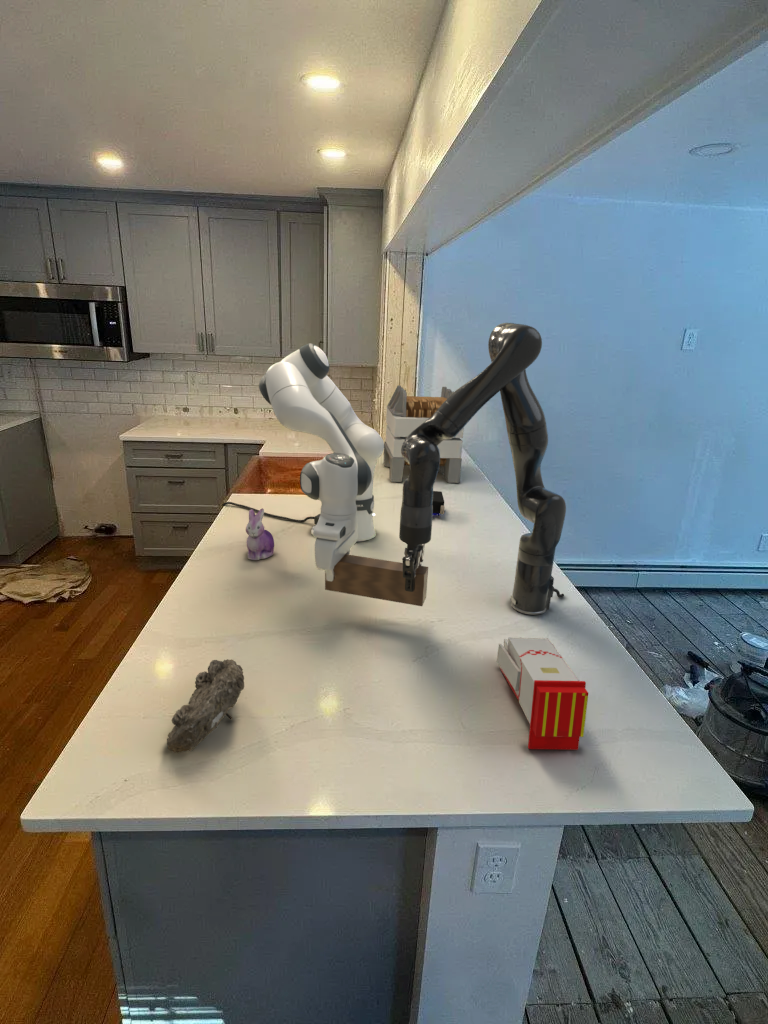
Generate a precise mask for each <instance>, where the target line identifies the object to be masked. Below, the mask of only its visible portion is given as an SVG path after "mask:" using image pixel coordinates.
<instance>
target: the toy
mask: <svg viewBox="0 0 768 1024" xmlns="http://www.w3.org/2000/svg"><path fill="white" fill-rule="evenodd" d="M496 664H497V665H498V666H499V669H500V672H501V673H502V675H503V677H504V678H505V680H506V682H507V683H508V685H509V687H510V689H511V690H512V692H513V694H514V696H515V698H516V700H517V701H518V704H519V705H520V707H521V709H522V711H523V713H524V715H525V718H526V719H527V722H528V723H529V731H528V732H529V734H528V742H527V743H528V744H527V748H528V750H568V751H569V750H571V751H572V750H573V751H574V750H576V751H578V750H579V745H580V738H584V735H585V727H586V719H587V709H588V703H589V702H588V701H589V692H588V690H587V689H586V686H587V682H586V681H585V680H580V679H579V677H578V676H577V675H576V673H575V672H574V670H572V668H571V667H570V666H569V664H568V663H567V662H566V660H565V659H564V657H563V656H562V655H561V653H560V651H558V649H557V648H556V646H555V644H554V643H552V641H551V640H550V638H549V637H508V638H504V639H503V644H502V643H498V648H497V654H496Z"/></svg>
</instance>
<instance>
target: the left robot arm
mask: <svg viewBox="0 0 768 1024" xmlns="http://www.w3.org/2000/svg"><path fill="white" fill-rule="evenodd" d="M330 366H331V365H330V362H329V360H328V356H327V355H326V353H325V352H324V350H322V349H321V347H319V346H318V345H316V343H315V344H314V343H310V342H309V343H306V344H304V345H302V346H300V347H299V348H298V349H296V350H295V351H293V352H291V353H289V354H288V355H286V356H285V357H284V358H282V359H281V360H280V361H278V362H275V363H274V364H271V365H270V367H268V368H267V371H266V373H264V374H263V375H262V377H261V378H260V379H259V384H258V389H259V392H260V394H261V396H262V397H263V399H264V400H265V401H266V402H267V403H268V404H269V405H270V406H271V408H272V410H273V413H274V415H275V417H276V419H277V420H278V422H279V423H280V424H281V425H282V426H283V427H285V428H287V429H288V430H291V431H294V432H299V433H304V434H307V435H312V436H315V437H317V438H320V439H322V440H323V441H325V442H326V443H327V445H328V446H329V448H330V449H331V451H332V453H328V454H326V455H325V456H324V457H323V458H322V459H318V460H313V461H309V462H307V463H305V465H303V467H302V468H301V471H300V473H299V486H300V490H301V492H302V493H303V494H304V495H305V496H307V498H309V499H311V500H314V501H320V503H321V504H320V513H319V514H317V515H315V516H307V517H305V518H304V519H294V518H292V517H291V518H290V517H286V516H281V515H277V514H271V513H268V512H265V511H264V515H263V516H267V517H271V518H276V519H280V520H285V521H290V522H294V523H304V522H307V521H308V520H313V523H314V525H313V526H312V528H311V530H310V533H311V536H312V537H313V538H315V541H314V562H315V563H314V564H315V567H316V568H317V570H320V571H324V574H325V573H326V580H327V581H333V580H334V578H335V573H334V571H333V569H334V566H335V565H336V564H337V563H338V562H339V561H340V560H341V558H342V557H343V556H344V555H345V554H348V555H351V554H350V553H351V549H352V548H353V546H354V545H355V544H356V543H357V542H365V541H368V540H372V539H373V538H375V537H376V535H377V532H376V528H375V523H374V517H375V516H376V513H373V512H374V509H375V496H374V477H375V470H376V466H377V463H378V460H379V458H380V457H381V456H382V455H383V454H384V442H385V441H384V440H383V437H382V436H381V435H380V433H379V432H378V431H377V430H376V429H374V428H373V427H370V426H369V425H367V424H366V423H364V422H363V421H362V420H361V419H360V418H359V417H358V415H357V414H356V412H355V411H354V409H353V407H352V404H351V402H350V401H349V400H348V399H347V397H346V396H345V394H343V393H342V391H341V390H340V389H339V387H338V386H337V385H336V384H335V382H334V381H333V380H332V379H331V378H330V377H329V375H328V373H329V372H330ZM226 505H232V506H236V507H239V508H244V509H247V510H249V511H250V510H251V509H252V510H253V511H254V512H256V513H258V512H259V510H260V509H258V508H257V509H256V508H254V507H250V506H248V505H244V504H240V503H235V502H232V501H226V502H223V504H222V506H223V507H224V506H226Z"/></svg>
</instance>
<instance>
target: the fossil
mask: <svg viewBox="0 0 768 1024" xmlns="http://www.w3.org/2000/svg"><path fill="white" fill-rule="evenodd" d="M243 670H244V669H243V667H242V665H240V664H237V662H236V661H235V660H234V659H232V658H231V659H227V658H226V659H224V660H223V661H222V660H217V659H212V660H211V661H210V663H209V665H208V666H207V671H201V672H199V673H198V674H197V675H196V676H195V680H194V684H195V685H194V687H195V689H194V690H193V693H192V694H191V697H190V698H189V700H188V704H184V705H182V706H181V707H180V709H177V710H176V711H175V713H174V715H173V716H172V718H171V723H172V724H173V727H172V730H171V731H170V732H168V734H167V738H166V741H167V742H166V745H167V749H168V750H169V751H173V752H174V753H176V754H178V753H182V752H188V751H189V752H192V751H193V750H195V748H196V747H197V746H199V744H200V743H201V742H203V741H204V740H205V739H206V738H207V737H208V736H209V735H210V734H211V733H212V732H214V730H215V729H217V727H218V726H219V724H220V722H221V721H222V720H223V719H224V718H225V716H226V717H227V719H229V720H233V717H232V715H230V714H229V710H230V709H231V708H234V706H235V704H236V703H237V702H238V699H239V697H240V695H241V693H242V691H243V690H245V689H244V688H245V675H244V671H243Z"/></svg>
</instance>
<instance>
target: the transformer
mask: <svg viewBox="0 0 768 1024" xmlns="http://www.w3.org/2000/svg"><path fill="white" fill-rule="evenodd" d="M454 392H455V390H454V391H453V390H452V389H451V388H447V386H442V387H441V392H440V393H441V394H440V396H415V395H414V396H413V395H412V396H411V395H407V394H408V393H407V390H406V389H404V388H403V387H402V385H399V384H398V385H397V386H396V388H395V390H394V392H393V394H392V395H391V398H390V400H389V402H388V404H387V405H386V413H385V414H386V415H385V423H386V428H385V438H384V441H383V442H384V450H383V466H384V467H388V468H389V475H388V476H389V477H388V478H389V480H390V482H391V483H402V482H403V475H404V469H405V466H406V467H407V466H409V467H410V464H409V463H408V462H406V461H405V460H404V458H403V457H402V454H401V447H402V444H403V442H404V440H405V439H406V438H407V436H408V435H409V434H410V433H411V432H412V431H414V430H415V429H416V428H417V427H419V426H420V425H421V424H422V423H424V422H425V421H426V420H428V419H429V418H431V417H432V416H433V414H434V413H435V412H436V411H437V410H438V408H439V407H440V406H441V405H442V404H443V403H444V402H445V401H446V399H447V398H448V397H449V396H450V395H451V394H452V393H454ZM464 429H465V426H464V427H463V429H462V430H461V431H459V433H458V434H457V435H456V436H455V437H454V438H452V439H449V440H443V441H442V442H441V443H440V444H439V445H438V446H437V447H438V449H439V452H440V465H439V469H438V472H439V473H440V474H441V475H443V478H444V479H445V481H446V482H447V483H449V484H455V483H456V484H459V483H461V472H462V461H463V460H462V453H463V442H464V441H463V440H462V439H463V438H464V431H465V430H464Z"/></svg>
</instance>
